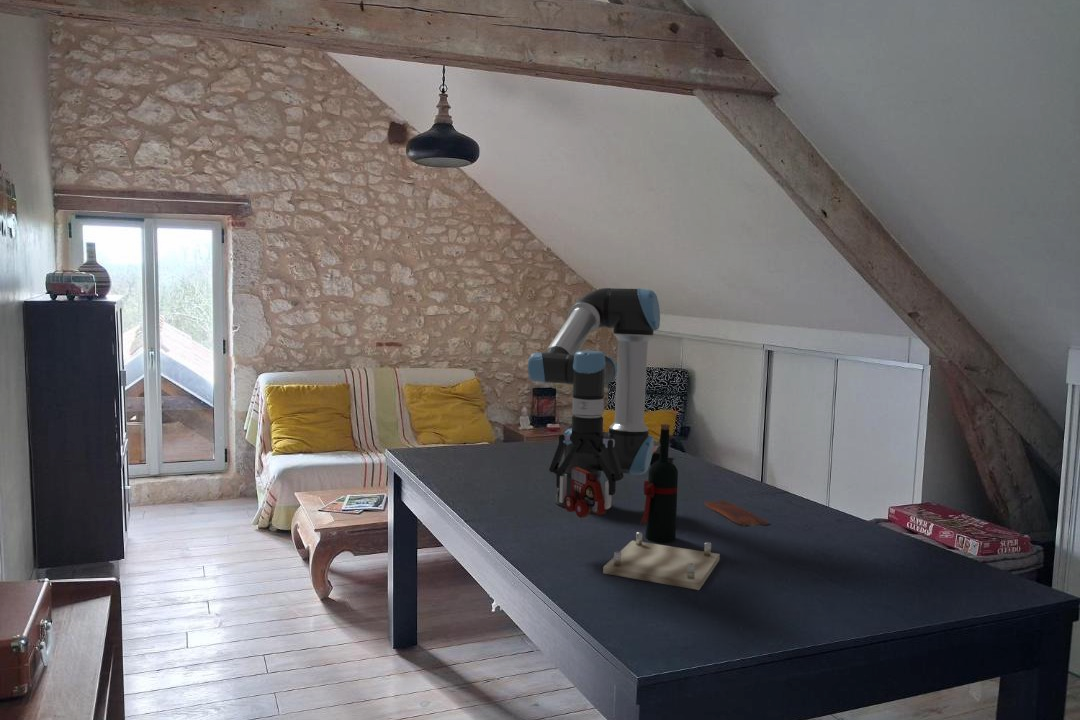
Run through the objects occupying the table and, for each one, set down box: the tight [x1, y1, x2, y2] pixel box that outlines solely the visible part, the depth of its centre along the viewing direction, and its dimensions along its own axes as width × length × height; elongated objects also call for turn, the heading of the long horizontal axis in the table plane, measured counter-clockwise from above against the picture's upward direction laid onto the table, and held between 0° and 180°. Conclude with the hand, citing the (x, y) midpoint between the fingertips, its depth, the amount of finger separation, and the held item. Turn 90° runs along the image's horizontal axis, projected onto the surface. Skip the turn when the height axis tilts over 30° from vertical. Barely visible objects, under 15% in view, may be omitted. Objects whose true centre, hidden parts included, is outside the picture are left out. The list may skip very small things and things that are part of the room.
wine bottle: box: [640, 423, 679, 544], centre depth 210 cm, size 8×10×30 cm
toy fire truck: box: [564, 467, 608, 519], centre depth 197 cm, size 7×12×10 cm, turn 29°
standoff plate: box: [602, 531, 721, 591], centre depth 190 cm, size 22×22×4 cm
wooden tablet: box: [703, 499, 770, 527], centre depth 238 cm, size 27×10×2 cm, turn 14°
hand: (585, 504), depth 197 cm, fingers closed on toy fire truck, 11 cm apart
